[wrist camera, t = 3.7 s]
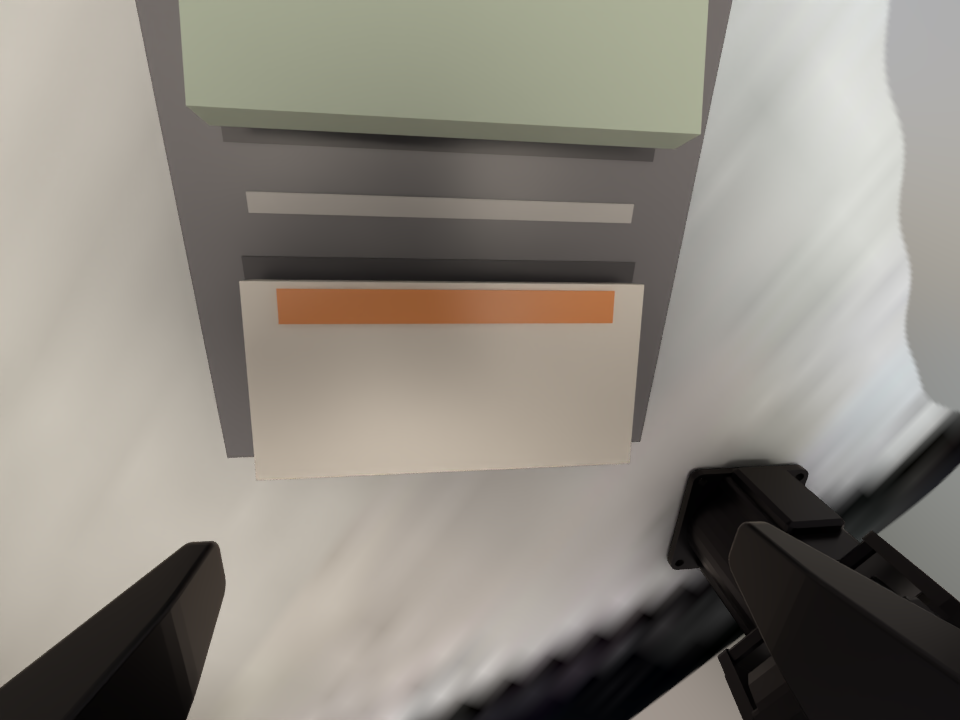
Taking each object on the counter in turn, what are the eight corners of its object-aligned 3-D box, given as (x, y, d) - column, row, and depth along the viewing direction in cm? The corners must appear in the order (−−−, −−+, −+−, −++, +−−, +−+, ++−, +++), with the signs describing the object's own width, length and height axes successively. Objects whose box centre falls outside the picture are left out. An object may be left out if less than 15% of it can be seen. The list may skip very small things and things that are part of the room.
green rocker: (661, 156, 14) (703, 132, 12) (220, 135, 12) (183, 103, 10) (673, -73, 13) (719, -139, 11) (204, -128, 11) (161, -218, 9)
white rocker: (607, 442, 18) (630, 464, 16) (274, 455, 16) (255, 481, 14) (619, 281, 17) (645, 284, 15) (260, 278, 15) (237, 281, 13)
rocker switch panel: (612, 406, 22) (641, 442, 20) (252, 416, 20) (226, 459, 17) (714, -176, 14) (787, -254, 12) (137, -264, 12) (54, -387, 9)
